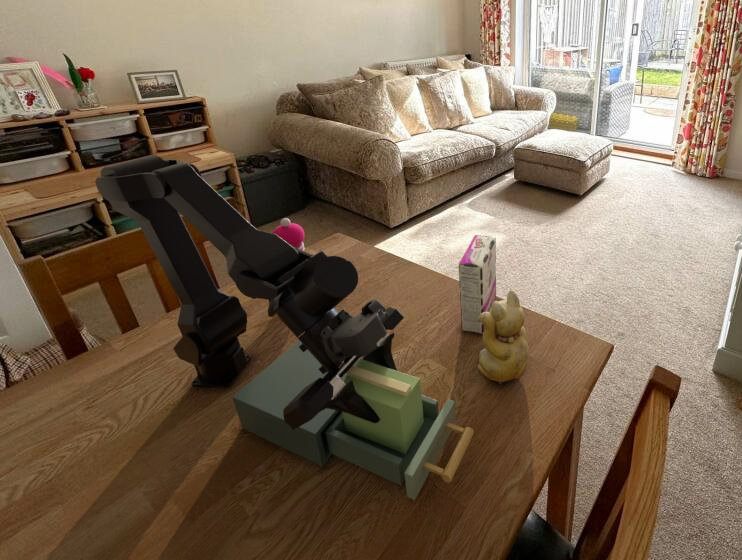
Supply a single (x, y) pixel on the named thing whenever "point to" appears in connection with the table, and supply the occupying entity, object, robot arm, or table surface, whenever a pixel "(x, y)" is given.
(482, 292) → the candy bar box
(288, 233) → the pepper mill
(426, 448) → the drawer
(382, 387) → the snack bag
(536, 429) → the table surface
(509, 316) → the decorative figurine
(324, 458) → the cabinet
